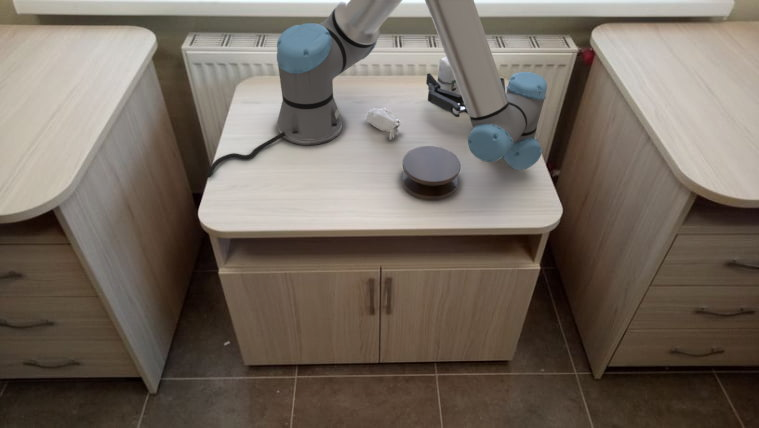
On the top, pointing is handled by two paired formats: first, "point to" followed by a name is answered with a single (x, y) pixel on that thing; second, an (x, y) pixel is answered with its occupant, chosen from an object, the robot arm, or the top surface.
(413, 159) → the stand
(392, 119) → the crumpled white bag
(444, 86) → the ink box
